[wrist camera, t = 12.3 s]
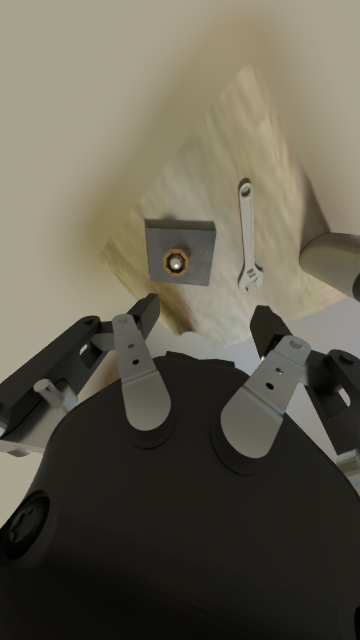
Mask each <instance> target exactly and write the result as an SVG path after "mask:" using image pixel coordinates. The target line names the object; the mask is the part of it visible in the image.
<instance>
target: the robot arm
mask: <svg viewBox="0 0 360 640" xmlns="http://www.w3.org/2000/svg"><path fill="white" fill-rule="evenodd" d="M299 262H300V266H301V268H302V270H303V271H305V272H307V273H308V274H310V275H312V276H313V277H315V278H317V279H319V280H321V281H322V282H324V283H326V284H328V285H330V286H331V287H333V288H335V289H337V290H338V291H340V292H342V293H344V294H346V295H348V296H349V297H351V298H353V299H355V300H357V301H359V302H360V235H352V234H343V233H327V234H324V235H321V236H319V237H317V238H315V239H314V240H313V241H311V242H310V243H309V244H308V245H307V246H306V247H305V249H304V250H303V252H302V253H301V256H300V261H299ZM159 315H160V302H159V295H158V294H152V293H149V294H148V295H147V297H146V298H143V299H141V300H139V301H138V302H137V303H136V304H135V305H134V306H133V307H132V308H131V309H130V310H129V311H128V312H127V313H126V314H120V315H117V316H115V317H114V318H113V319H112V321H106V322H101V321H100V318H99V317H98V316H87V317H84V318H81V319H80V320H79V321H77V322H76V323H75V324H74V325H72V326H71V327H70V328H69V329H67V330H66V331H65V332H64V333H62V334H61V335H60V336H59V337H57V338H56V339H55V340H54V341H52V342H51V343H50V344H49V345H48V346H46V347H45V348H44V349H43V350H41V351H40V352H39V353H38V354H36V355H35V356H34V357H33V358H31V359H30V360H29V361H28V362H27V363H25V364H24V365H23V366H22V367H20V368H19V369H18V370H17V371H16V372H14V373H13V374H12V375H10V376H9V377H8V378H7V379H6V380H5V381H3V382H2V383H1V384H0V452H6V453H9V454H11V455H13V456H16V457H23V456H26V455H28V454H30V453H32V452H38V453H43V454H44V455H43V458H42V461H41V463H40V466H39V468H38V471H37V473H36V475H35V478H34V480H33V482H32V484H31V486H30V488H29V490H28V492H27V493H26V495H25V497H24V499H23V500H22V502H21V503H20V505H19V506H18V508H17V509H16V510H15V512H14V513H13V514H12V515H11V517H10V518H9V519H8V520H7V522H6V523H5V524H4V525H3V526H2V528H1V529H0V640H360V359H358V358H357V357H355V356H354V355H352V354H350V353H347V352H345V351H342V350H336V349H333V350H331V351H330V352H329V353H328V354H327V355H326V354H323V353H320V352H317V351H313V350H311V346H310V345H309V344H308V343H307V342H306V341H304V340H302V339H301V338H298V337H296V336H293V335H292V333H291V332H290V330H289V329H288V328H287V326H286V325H285V323H284V322H283V320H282V319H281V317H279V316H278V315H277V314H275V313H273V312H272V310H271V309H270V307H269V306H261V305H258V306H257V307H256V309H255V311H254V314H253V317H252V319H251V322H250V330H251V333H252V336H253V339H254V342H255V345H256V348H257V351H258V354H259V357H260V359H261V360H263V361H262V363H261V364H260V365H259V366H258V368H257V369H256V370H255V371H254V373H253V374H252V375H251V376H249V375H248V374H246V373H245V372H243V371H241V370H239V369H237V368H235V364H234V362H232V361H226V360H219V359H206V360H198V359H196V358H193V357H191V356H188V355H185V354H182V353H177V352H171V351H167V352H166V355H165V356H159V357H156V358H153V359H152V357H151V355H150V353H149V350H148V348H147V345H146V343H145V340H146V338H147V337H148V335H149V333H150V331H151V330H152V328H153V326H154V324H155V323H156V321H157V319H158V317H159ZM85 344H86V345H87V348H86V349H85V350H84V351H83V353H82V354H81V355H80V350H81V349H82V347H83V346H84V345H85ZM110 350H116V353H117V359H118V365H119V370H120V376H121V378H120V379H118V380H116V381H115V382H113V383H112V384H110V385H108V386H107V387H105V388H104V389H102V390H100V391H99V392H97V393H96V394H94V395H93V396H91V397H89V398H88V399H86V400H85V401H83V402H82V403H80V404H78V405H77V402H78V396H77V395H78V394H79V392H80V391H81V390H82V388H83V387H84V385H85V384H86V383H87V381H88V380H89V378H90V377H91V376H92V374H93V373H94V371H95V370H96V369H97V367H98V366H99V364H100V363H101V362H102V360H103V359H104V357H105V356H106V355H107V353H108V352H109V351H110ZM298 382H299V383H301V384H304V386H305V389H306V391H307V393H308V395H309V397H310V399H311V401H312V403H313V406H314V408H315V409H316V411H317V414H318V416H319V418H320V420H321V422H322V424H323V426H324V428H325V430H326V433H327V434H328V437H329V439H330V440H331V443H332V445H333V447H334V449H335V451H336V453H337V455H338V457H337V459H336V464H335V463H334V462H333V461H332V460H331V459H330V458H329V457H328V456H327V455H326V454H325V453H324V452H323V451H322V450H321V449H320V448H319V447H318V446H317V445H316V444H315V443H314V442H313V441H312V439H311V438H310V437H309V436H308V435H307V434H306V433H305V432H304V431H303V430H302V429H301V428H300V427H299V426H298V425H297V424H296V423H295V422H294V421H293V420H292V419H291V418H290V417H289V416H288V415H287V413H286V412H285V410H286V408H287V406H288V404H289V401H290V399H291V397H292V395H293V393H294V391H295V389H296V386H297V384H298ZM342 388H343V389H344V390H345V391H346V393H347V394H348V396H349V398H350V401H351V402H350V406H349V407H348V406H347V405H346V403H345V402H344V400H343V399H342V397H341V396H340V394H339V393H338V391H339V390H341V389H342ZM76 405H77V406H76Z"/></svg>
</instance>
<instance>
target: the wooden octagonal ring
mask: <svg viewBox="0 0 360 640" xmlns="http://www.w3.org/2000/svg"><path fill="white" fill-rule="evenodd" d="M172 253H180V254H181V255H182V256H183V258H184V259H185V267H183V268H180V269H177V270H175V269H172V268H171V266H170V259H171V254H172ZM190 265H191V254H190V253H189V251H188V250H187V249H186V248H185V247H182V246H174V247H173V248H171V249H170V250H169V251H168V252H167V253H166V254H165V255H164V257H163V268H164V269H165V270H166V271H167V272H168V273H169V275H170V276H178V277H181V276H182V275H183V274H184V273H185V272H186V271H188V269H189V267H190Z"/></svg>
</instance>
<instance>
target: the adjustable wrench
mask: <svg viewBox="0 0 360 640" xmlns="http://www.w3.org/2000/svg"><path fill="white" fill-rule="evenodd" d="M246 186H247V187H249V189H250V191H249V194H248V195H247V196H245V197H244V196H242V194H241V191H242V189H243V188H244V187H246ZM239 202H240V214H241V226H242V237H243V249H244V261H245V266H244V270H243V273H242V276H241V278H240V280H239V283H238V286H239V289H240V291H241V292H243V293H244V294H249V293H248V291H247V290H246V288H245V287H246V286H247V284H248V283H249V282H251V281H254V282H255V284H256V286H257V287H258V288H260V287H261V285H262V283H263V274H264V273H263V271H262V269H261V270H258V269H257V268H256V267H255V264H254V228H253V187H252V185H251V184H250V183H245V184H243V186H242V187H241V188H240V190H239ZM250 269H252V270H250ZM247 271H248V272H247ZM250 275H251V276H250Z"/></svg>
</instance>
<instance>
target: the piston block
mask: <svg viewBox="0 0 360 640" xmlns="http://www.w3.org/2000/svg"><path fill="white" fill-rule="evenodd" d="M146 237H147V248H148V258H149V269H150V280H151V281H158V282H168V283H179V284H189V285H200V286H208V285H209V279H210V272H211V265H212V258H213V252H214V245H215V238H216V231H214V230H191V229H168V228H146ZM174 246H182V247H185V248H186V249H187V250H188V251H189V253H190V254H191V265H190V267H189V269H188V271H186V272H185V273H184V274H183V275H182V276H181V277H178V276H170V275H169V273H168V272H167V271H166V270H165V269H164V268H163V257H164V255H165V254H166V253H167V252H168V251H169V250H170V249H171V248H173V247H174ZM170 266H171V268H172V269H175V270H177V269H180V268H183V267H185V259H184V258H183V256H182V255H181V254H180V253H172V254H171V259H170Z"/></svg>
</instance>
